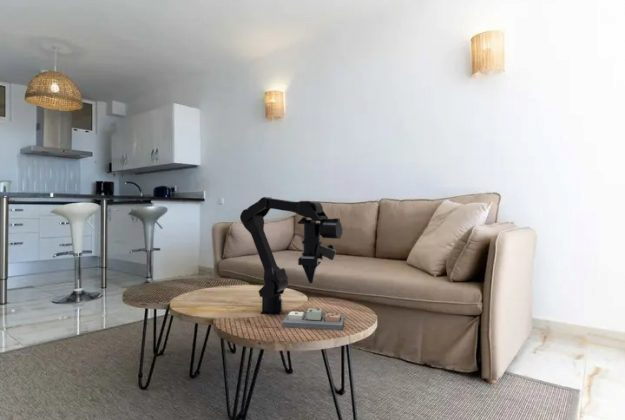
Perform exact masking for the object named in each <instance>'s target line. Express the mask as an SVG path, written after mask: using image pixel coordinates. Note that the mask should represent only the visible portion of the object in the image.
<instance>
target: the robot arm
mask: <svg viewBox="0 0 625 420" xmlns="http://www.w3.org/2000/svg"><path fill="white" fill-rule="evenodd" d="M271 209H272V210H278V211H285V212H291V213H295V214H296V215H299V216H302V217H301V219H300V220H299V221H298V222H297V224H298V225H303V240H302V246H303V250H302V251H303V252H302V253H301V256H300V257H299V258H297V265H298V266H301V267H302V268H303V271H304V273H305V275H306V278H307V280H308V283H309V284H313V283H314V279H315V275H316V270H317V267H318V266H319V265H320V264H321V263H322V261H323V260H324V258H326V259H328V260H329V261H333V260H334V259H335V256H336V253H337V249H335V247H334V245H333V244H331V243H330V244H328V245H327V246H326V245H324V244H322V240H321V238H323V239H335V240H337V239H338V240H340V239H341V238H342V236H343V225H342V223H341V219H340V218H339V217H338V218H336V217H335V218H329V217H328V215H327V213H326V212H325V211H324V208H323V205H322V204H321V202H319V201H315V200H301V201H295V200H294V201H292V200H286V199H279V198H272V197H271V196H270V197H268V196H263V197H261V198H260V199H259V200H258V201H256V202H255V203H253V204H251V205H249V206H248V207H247V208H245V209H243V210H242V211H241V213H240V216H239V218H240V221H241V224H242V226H243V227H244V229H245V230H246V231H248V233H249V234H250V236H251V238H252V240H253V243H254V246H255V249H256V252H257V254H258V257H259V260H260V262H261V265H262V268H263V271H264V272H263V283H264V285H263V286H262V287H261V288H260V289H259V290H258V294H259V297H260V298H262V300H261V311H260V315H276V316H277V315H278V316H279V315H280V313H281V312H282V311H283V298H282V295H283V294H284V292H285V290H286V288H287V287H288V284H289V277H288V276H287V273H286V270H285V268H280V267H279V266H278V265H277V262H276V260H275V257H274V253H273V252H272V248H271V246H270V244H269V241H268V238H267V236H266V233H265V229H264V228H265V219H264V218H265V217H266V216H267V215H268V214H269V212H270V210H271ZM309 218H310V219H309ZM319 259H320V260H322V261H319Z"/></svg>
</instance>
